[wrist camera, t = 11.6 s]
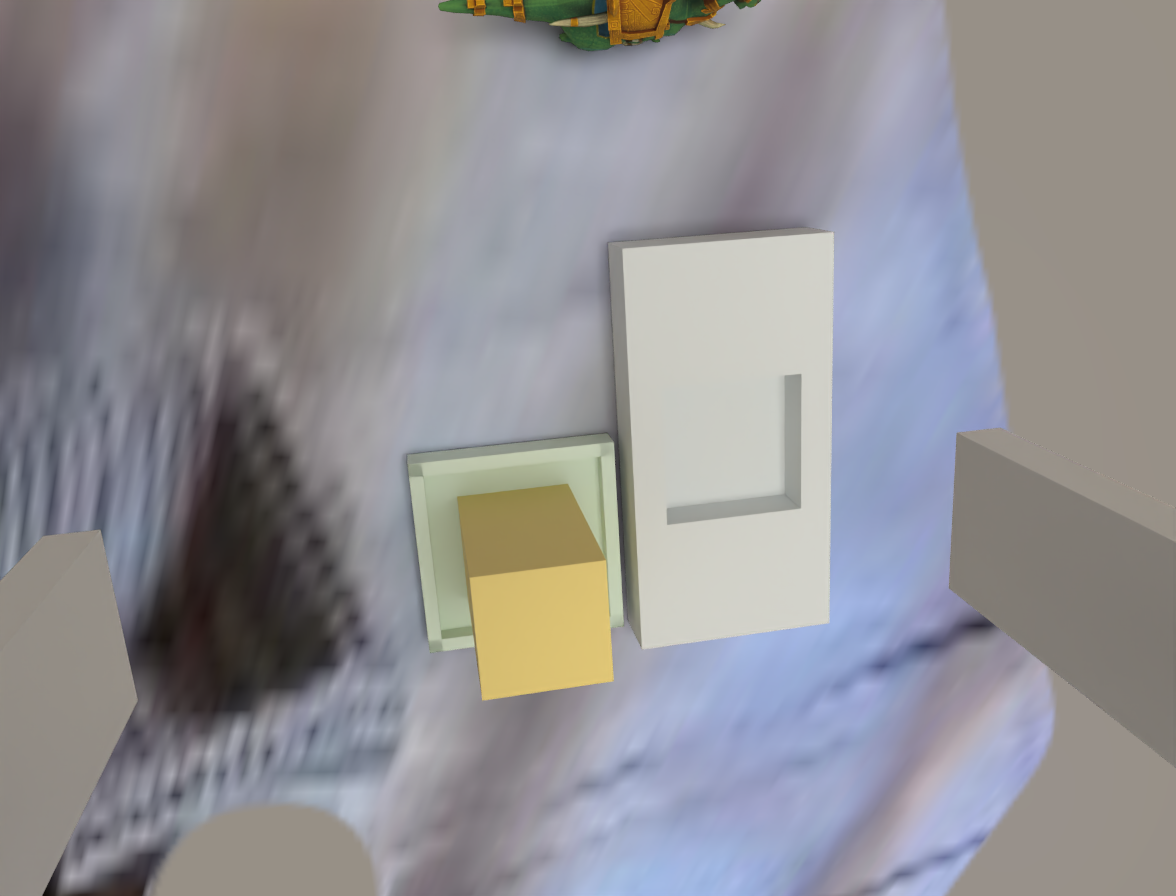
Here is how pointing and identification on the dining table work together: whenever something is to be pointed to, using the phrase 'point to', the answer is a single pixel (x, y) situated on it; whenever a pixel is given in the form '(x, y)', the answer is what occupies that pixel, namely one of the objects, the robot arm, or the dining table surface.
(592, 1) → the figurine
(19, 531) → the dining table surface
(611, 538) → the tray
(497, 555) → the block
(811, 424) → the recessed block
